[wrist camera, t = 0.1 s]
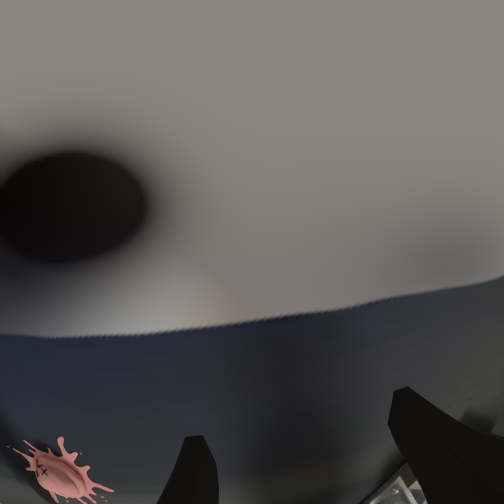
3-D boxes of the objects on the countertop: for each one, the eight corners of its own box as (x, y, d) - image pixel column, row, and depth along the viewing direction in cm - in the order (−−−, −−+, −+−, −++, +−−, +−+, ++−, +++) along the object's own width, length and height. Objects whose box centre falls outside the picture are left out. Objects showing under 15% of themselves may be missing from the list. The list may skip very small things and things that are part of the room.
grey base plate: (444, 508, 28) (462, 534, 21) (353, 510, 25) (371, 551, 18) (505, 442, 27) (530, 466, 20) (437, 426, 24) (471, 465, 17)
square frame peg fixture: (445, 492, 26) (453, 503, 23) (381, 491, 24) (389, 506, 21) (488, 446, 25) (498, 456, 22) (434, 435, 23) (446, 449, 20)
